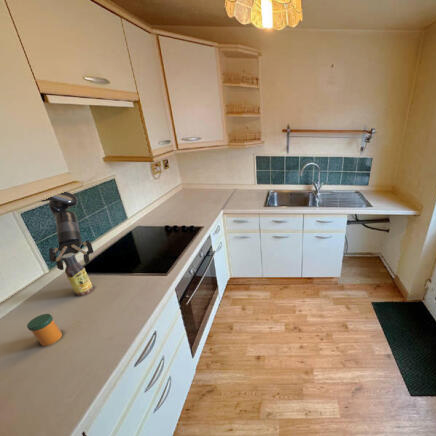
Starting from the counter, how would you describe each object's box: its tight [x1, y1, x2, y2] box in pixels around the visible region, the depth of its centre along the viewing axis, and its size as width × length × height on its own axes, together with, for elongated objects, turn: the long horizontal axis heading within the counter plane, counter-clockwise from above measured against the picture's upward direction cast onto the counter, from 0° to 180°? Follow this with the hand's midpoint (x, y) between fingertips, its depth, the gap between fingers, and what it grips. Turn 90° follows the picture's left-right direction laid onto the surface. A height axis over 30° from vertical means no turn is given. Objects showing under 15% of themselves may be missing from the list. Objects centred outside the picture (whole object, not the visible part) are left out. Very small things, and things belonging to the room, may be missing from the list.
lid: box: [26, 313, 54, 332], centre depth 80 cm, size 6×6×2 cm
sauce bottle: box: [62, 253, 94, 296], centre depth 101 cm, size 6×6×20 cm
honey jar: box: [31, 319, 63, 347], centre depth 82 cm, size 6×6×9 cm
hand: (74, 266), depth 101 cm, fingers open, 8 cm apart
